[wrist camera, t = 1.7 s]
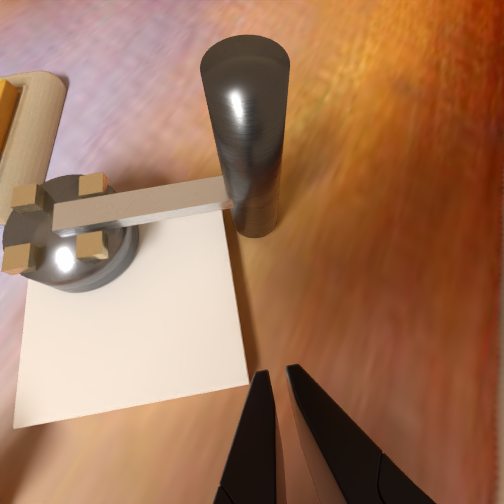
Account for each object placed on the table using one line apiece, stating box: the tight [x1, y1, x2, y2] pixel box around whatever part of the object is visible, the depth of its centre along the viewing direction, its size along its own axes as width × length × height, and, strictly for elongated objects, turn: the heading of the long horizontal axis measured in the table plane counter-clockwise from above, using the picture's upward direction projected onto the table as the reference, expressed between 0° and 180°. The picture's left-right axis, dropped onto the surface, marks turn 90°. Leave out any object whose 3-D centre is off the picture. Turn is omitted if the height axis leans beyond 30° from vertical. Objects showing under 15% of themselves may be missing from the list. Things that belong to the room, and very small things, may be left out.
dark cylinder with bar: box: [1, 35, 290, 293], centre depth 18 cm, size 8×19×13 cm, turn 100°
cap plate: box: [13, 210, 250, 429], centre depth 22 cm, size 15×15×2 cm
